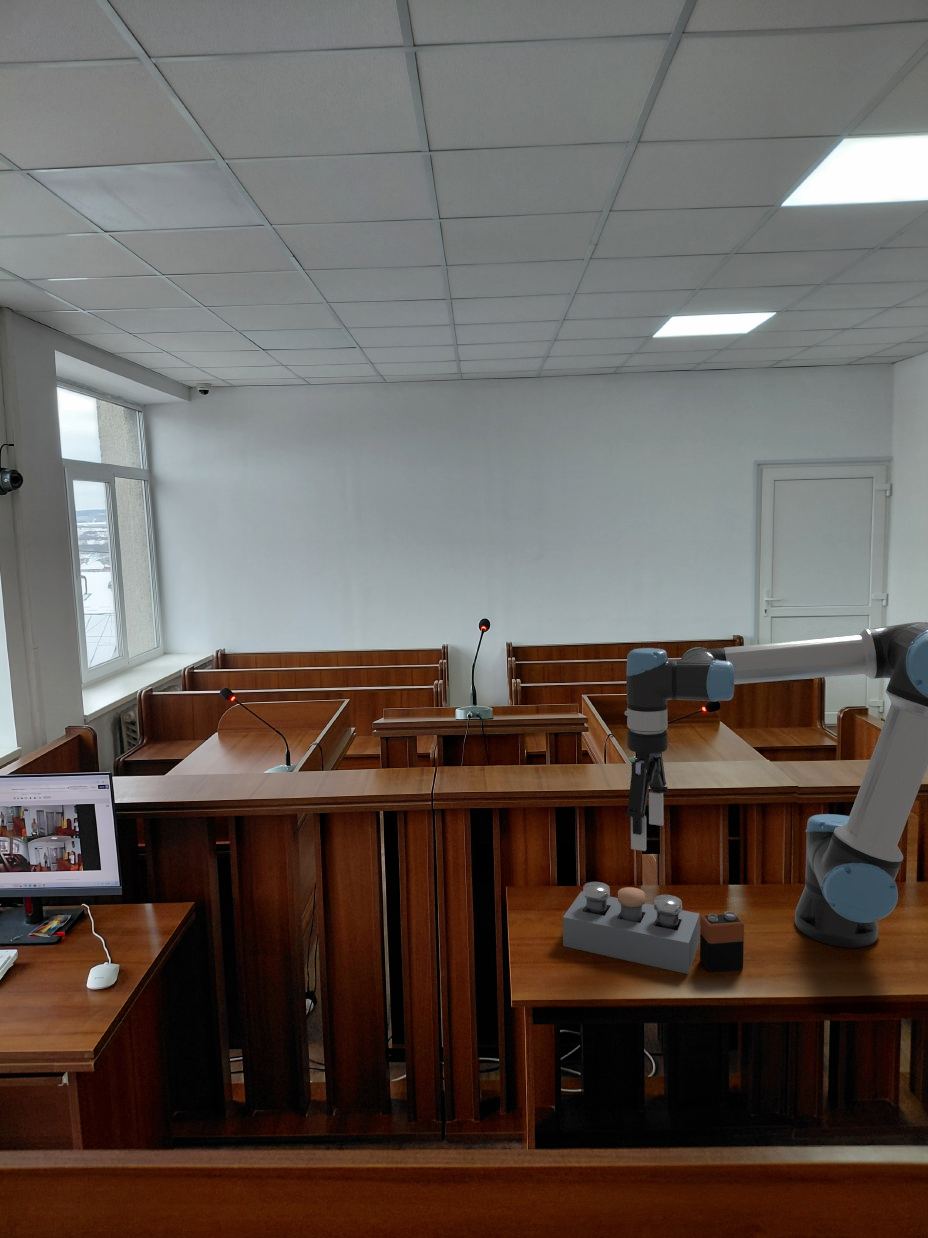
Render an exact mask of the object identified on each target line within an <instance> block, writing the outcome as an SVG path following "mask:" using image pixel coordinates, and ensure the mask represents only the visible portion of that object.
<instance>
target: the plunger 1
mask: <svg viewBox="0 0 928 1238" xmlns="http://www.w3.org/2000/svg"><path fill="white" fill-rule="evenodd" d="M582 888H583V895H584V897H585V898H586V912H588V913H593V914H598V915H603V916H605V914H606V913H607V899H608V898H609V897H611V893H610V892H611V889H610V888H611V887H610V886H609V885H608V884H606V883H605V882H600V881H590V882H586V883H585V884H583V886H582Z"/></svg>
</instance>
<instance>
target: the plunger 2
mask: <svg viewBox="0 0 928 1238" xmlns="http://www.w3.org/2000/svg"><path fill="white" fill-rule="evenodd" d="M653 905H654V909H655V910H656V911H657V927H662V928H667V929H672V930H677V931H678V923H679V913H681V911H682V910H683V901H682V900H681V898H679V897H678V896H674V895H671V894H659V895H656V896H655V897H653Z"/></svg>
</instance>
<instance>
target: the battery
mask: <svg viewBox="0 0 928 1238" xmlns="http://www.w3.org/2000/svg"><path fill="white" fill-rule="evenodd" d="M737 915H738V914H737V913H736V912H735V911H731V910H727V911H725V912H724V913H716V914H715V913H709V914H702V915H700V932H699V960H700V963H702V964H703V966H704V967H705V968H706V970H707V971H708V972H709V973H713V972H714V973H715V972H716V973H717V972H728V971H737V970H742V969H744V952H745V951H744V949H745V948H744V947H745V945H744V942H745V939H744V938H745V923H744V922H743V921H742V920H741V919H740V918H739V917H738V916H737Z"/></svg>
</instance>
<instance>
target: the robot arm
mask: <svg viewBox="0 0 928 1238" xmlns="http://www.w3.org/2000/svg"><path fill="white" fill-rule="evenodd" d="M856 675H865V676H866V677H868V678H869V679H870V680H871V679H872V680H873V679H874V680H875V679H889V681H888V684H887V687H886V690H885V693H886V695H887V697H888V699H889V700H890V706H889V709H888V712H887V715H886V717H885V720H884V722H883V724H882V728H881V729H880V732H879V733H880V734H879V736H878V739H877V741H876V743H875V744H876V745H875V746H874V749H873V752H872V755H871V757H870V759H869V763H868V766H867V768H866V771H865V774H864V776H863V779H862V781H861V784H860V786H859V790H858V792H857V795H856V797H855V800H854V804H853V806H852V808H851V811H850V814H849V815H844V814H832V813H831V814H830V813H825V814H822V813H821V814H815V815H812V816H809V818H808V819H807V824H806V829H805V832H806V841H805V842H806V844H805V845H806V846H805V849H806V850H805V852H806V853H805V856H806V857H805V877H804V878H805V880H804V881H805V882H804V885H805V886H804V889H803V891H802V893H801V895H800V898H799V900H798V902H797V906H796V908H795V912H794V924H795V927H796V928H797V929H798V931H800V932H801V933H802V934H803V935H805V936H807V937H809V938H811V939H813V940H815V941H818V942H820V943H823V944H826V945H830V946H835V947H839V948H840V947H841V948H863V947H867V946H870V945H873V944H874V943H876V941H877V940H878V936H879V925H878V921H880V920H882V919H883V920H884V919H885V918H886V917H889V915H890V914H891V913H892V912H893V911H894V910H895V908H896V906H897V904H898V900H899V892H898V889H899V888H898V886H897V883H896V877H897V875H898V873H899V871H900V867H901V864H902V861H903V860H904V855H903V853H902V852H901V850H900V847H899V846H898V844H899V842H900V839H901V837H902V834H903V832H904V829H905V826H906V824H907V821H908V818H909V816H910V813H911V811H912V808H913V805H914V803H915V800H916V798H917V796H918V793H919V790H920V788H921V785H922V782H923V780H924V778H925V776H926V775H925V774H926V771H927V770H928V621H925V622H924V621H923V622H922V621H916V622H915V621H914V622H908V623H901V624H895V625H894V624H893V625H887V626H880V627H875V628H874V627H873V628H864V629H863V630H862V631H861V633H859V634H857V635H845V636H836V637H835V636H833V637H824V638H815V639H814V638H813V639H804V640H803V639H802V640H801V639H800V640H793V641H780V642H771V643H770V642H769V643H760V644H749V645H740V646H727V647H720V648H719V647H717V648H708V649H707V648H705V647H692V648H690V649H688V650H687V651H686V652H685V653H683V655H682V657H681V658H680V660H678V659H677V660H676V659H669V658H668V653H667V651H666V650H665V649H662V648H653V647H641V648H633V649H632V650H630V651H629V652H628V654H627V656H626V673H625V676H626V677H625V678H626V681H625V683H626V707H627V708H626V710H625V711H624V713H623V714H624V715H625V716H627V719H626V720H627V721H626V722H627V725H626V726H627V728H629V729H628V730H627V731H626V732H627V733H626V742H627V744H626V747H627V748H628V750H629V751H631V752H634V753H636V755H637V756H636V759H635V760H634V761H632V762H631V775H630V787H629V793H628V804H627V810H626V811H625V816H627V817H630V849H631V850H636V851H642V852H646V851H647V815H645V814H646V807H647V801H648V824H649V825H652V826H653V825H654V826H655V825H656V826H662V827H663V826H664V793H668V788H669V787H668V786H666V785H667V782H666V781H667V779H666V774H665V773H666V772H665V768H664V767H665V766H664V760H663V753H664V752H666V751H667V750H668V731H667V729H668V725H669V724H668V723H669V721H668V701H671V700H672V701H676V700H677V701H699V702H701V701H703V702H713V703H715V702H722V701H731V700H732V699H733V697H734V693H735V685H741V684H742V685H743V684H754V683H766V682H779V681H790V680H791V681H792V680H806V679H816V678H817V679H818V678H819V679H820V678H828V677H829V678H830V677H843V676H856ZM649 789H650V791H649Z"/></svg>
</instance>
